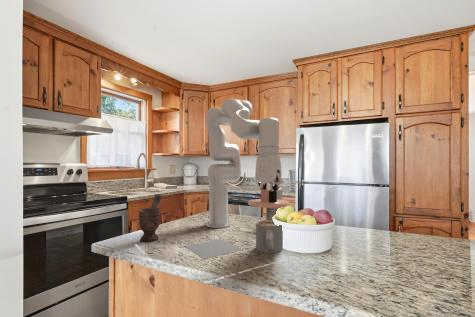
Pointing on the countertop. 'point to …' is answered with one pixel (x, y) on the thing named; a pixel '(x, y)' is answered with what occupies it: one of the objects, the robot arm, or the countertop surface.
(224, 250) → the mat
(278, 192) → the spray can
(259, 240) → the coffee mug
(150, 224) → the mortar and pestle
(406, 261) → the countertop surface
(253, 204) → the lid
